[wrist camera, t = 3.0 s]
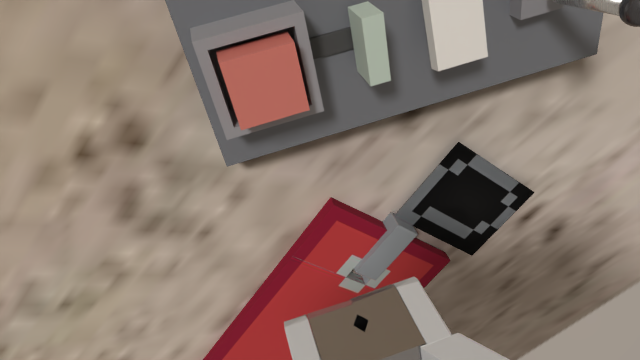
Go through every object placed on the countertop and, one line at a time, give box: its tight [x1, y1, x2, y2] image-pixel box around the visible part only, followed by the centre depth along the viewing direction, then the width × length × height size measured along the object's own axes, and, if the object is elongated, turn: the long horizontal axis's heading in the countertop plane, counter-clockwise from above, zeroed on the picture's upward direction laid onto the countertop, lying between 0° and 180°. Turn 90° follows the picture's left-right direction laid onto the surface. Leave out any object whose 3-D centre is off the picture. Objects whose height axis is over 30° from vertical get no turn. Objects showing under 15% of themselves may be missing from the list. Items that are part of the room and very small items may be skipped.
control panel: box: [165, 0, 603, 166], centre depth 24 cm, size 22×10×4 cm, turn 101°
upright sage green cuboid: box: [348, 1, 391, 86], centre depth 22 cm, size 1×3×2 cm, turn 11°
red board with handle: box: [203, 142, 534, 360], centre depth 37 cm, size 30×3×15 cm
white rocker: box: [422, 0, 488, 71], centre depth 23 cm, size 3×4×1 cm, turn 11°
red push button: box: [216, 32, 310, 130], centre depth 21 cm, size 3×3×2 cm
